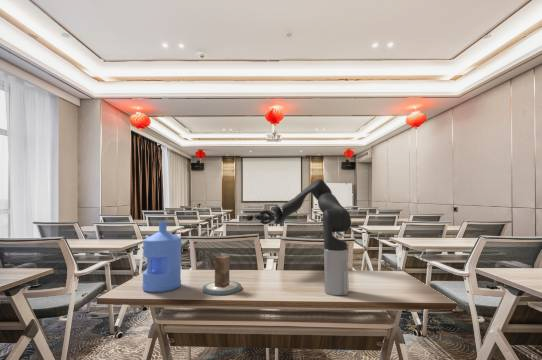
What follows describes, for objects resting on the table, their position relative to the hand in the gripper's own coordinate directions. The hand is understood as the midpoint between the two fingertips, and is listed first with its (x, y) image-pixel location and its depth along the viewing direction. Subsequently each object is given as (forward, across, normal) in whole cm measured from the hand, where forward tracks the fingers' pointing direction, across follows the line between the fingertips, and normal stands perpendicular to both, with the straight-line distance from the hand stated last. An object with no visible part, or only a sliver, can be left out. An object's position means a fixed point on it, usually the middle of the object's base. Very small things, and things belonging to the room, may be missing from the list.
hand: (256, 218), depth 147 cm
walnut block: (+23, -6, +27) cm, 36 cm away
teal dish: (+23, -6, +28) cm, 37 cm away
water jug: (+29, -32, +28) cm, 52 cm away
